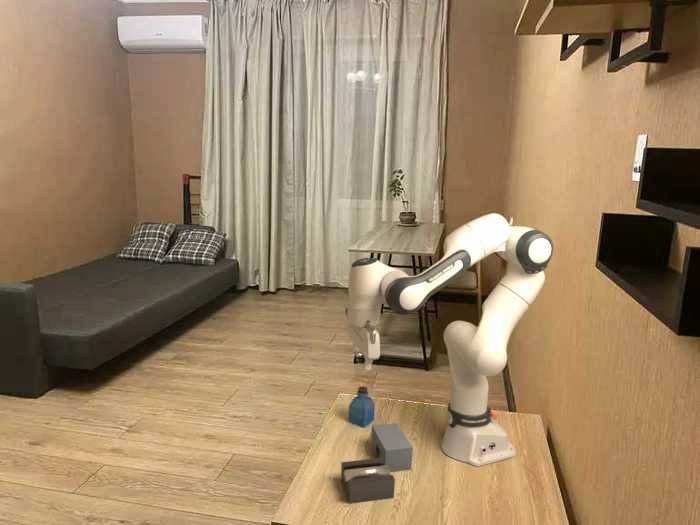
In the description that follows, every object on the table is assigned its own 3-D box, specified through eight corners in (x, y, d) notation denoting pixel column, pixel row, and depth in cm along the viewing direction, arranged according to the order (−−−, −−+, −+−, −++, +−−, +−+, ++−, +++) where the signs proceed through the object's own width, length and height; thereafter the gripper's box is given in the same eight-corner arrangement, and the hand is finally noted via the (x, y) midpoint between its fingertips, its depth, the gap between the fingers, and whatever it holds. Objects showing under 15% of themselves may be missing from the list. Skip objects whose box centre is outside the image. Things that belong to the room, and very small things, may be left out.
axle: (386, 473, 143) (386, 463, 143) (390, 478, 140) (390, 467, 140) (344, 478, 140) (343, 468, 140) (346, 484, 137) (346, 472, 137)
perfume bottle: (348, 422, 175) (349, 389, 173) (358, 415, 180) (360, 382, 178) (363, 428, 172) (365, 394, 169) (373, 420, 177) (375, 388, 174)
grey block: (395, 443, 164) (396, 422, 162) (411, 469, 150) (412, 447, 149) (370, 445, 162) (371, 425, 160) (384, 472, 148) (385, 450, 147)
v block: (382, 475, 147) (383, 457, 146) (393, 497, 138) (394, 479, 137) (340, 480, 144) (341, 462, 143) (349, 503, 135) (350, 484, 134)
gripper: (386, 327, 137) (385, 376, 140) (364, 305, 156) (363, 348, 159) (363, 329, 135) (362, 379, 138) (343, 306, 154) (343, 350, 157)
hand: (362, 362), depth 149 cm, fingers open, 8 cm apart
